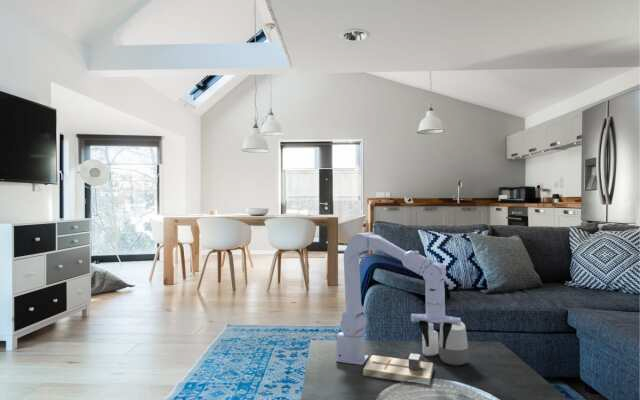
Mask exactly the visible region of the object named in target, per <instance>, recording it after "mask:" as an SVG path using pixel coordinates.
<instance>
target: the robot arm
mask: <svg viewBox="0 0 640 400" xmlns="http://www.w3.org/2000/svg"><path fill="white" fill-rule="evenodd" d="M347 241H348V242H347V246H346V248H345V250H344V252H343V269H344V270H343V272H344V274H343V275H344V295H345V298H344V299H345V307H344V308H343V311H342V313H341V319H340V322H339V323H340V324H339V327H340V331H341V332H338V333H337V336H336V359H335V362H338V363H345V364H352V365H358V366H363V365H364V364H365V362H366V361H367V359H368V358H369V355H368V354H366V345H365V344H366V342H365V341H366V335H365V333H366V332H365V328H366V327H367V326H368V323H369V321H368V320H369V319H368V317H367V315H366V311H365V307H364V306H363V305H362V289H361V275H360V274H361V271H360V270H361V269H360V259H361V258H363V257H364V255H365V254H366V253H368V252H371V251H381V252H383V253H385V254H387V255H389V256H391V257H393V258H395V259H397V260H399V261H401V263H402V265H403V267H405V268H406V269H407V270H410V271H412V272H414V273H416V274H417V275H419V276H422V278H423V280H424V282H425V286H424V287H425V288H424V289H425V291H424V292H425V296H424V297H425V313H411V315H410V321H411V322H413V323H415V322H418V326H419V329H420V330H421V333H423V336H424V338H425V342H426V347H429V334H428V328H429V322H430V323H432V324H443V349H445V347H446V341H447V337H448V335H449V333H450V330H451V328H452V325H457V326H460V325H461V322H462V320H461V317H455V316H451V315H446V300H445V299H446V298H445V297H446V294H445V293H446V290H445V277H446V275H447V269H446V267H445V266H444V264H442V263H441V262H440V261H433V259H432V258H427V256H423V255H422V254H420V251H419V250H408V251H406V250H405V249H403V248H401V247H399V246H397V245H395V244H394V243H392V242H390V241H389V240H388V239H386V238H384V237H382V236H381V235H380V234H375V233H374V232H372V231H367V232H363V233H355V234H353V235H352V236H351V237H350V238H349V239H348V240H347Z"/></svg>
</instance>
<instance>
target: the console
mask: <svg viewBox="0 0 640 400" xmlns="http://www.w3.org/2000/svg"><path fill="white" fill-rule="evenodd" d="M433 371H434V362H429V361H428V362H427V361H422V360H420V368H419V371H418V370H411V369H409V359H404V358H397V357H392V356H391V357H390V356H382V355H374V354H373V355H371V356H370V358H369V360H368V361H367V363H366V364H365V365H364V367H363V368H362V375H363V376H366V377H372V378H379V379H386V380H390V381H391V380H393V381H398V382H399V381H400V382H404V381H406V380H413V379H428V380H429V379H432V375H433Z"/></svg>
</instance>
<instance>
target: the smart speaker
mask: <svg viewBox="0 0 640 400" xmlns="http://www.w3.org/2000/svg"><path fill="white" fill-rule="evenodd" d="M439 324H440V323H439ZM467 335H468V334H467V329H466V324H465V323H464V322H463V321H461V325H460V326H457V325H452V328H451V330H450V333H449V335H448V337H447V341H446V347H445V349H443V324H440V325H439V337H438V354H439V358H440V360H441V361H442V363H444V364H446V365H449V366H452V367H460V366H464V365H465V364H466V363H467V361H468V360H469V345H468V336H467Z"/></svg>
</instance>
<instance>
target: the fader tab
mask: <svg viewBox="0 0 640 400" xmlns="http://www.w3.org/2000/svg"><path fill="white" fill-rule="evenodd" d="M407 360H409V369H411V370H418V371H419V368H420V361H421V354H419V353H411V352H410V354H409V356H408V359H407Z"/></svg>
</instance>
